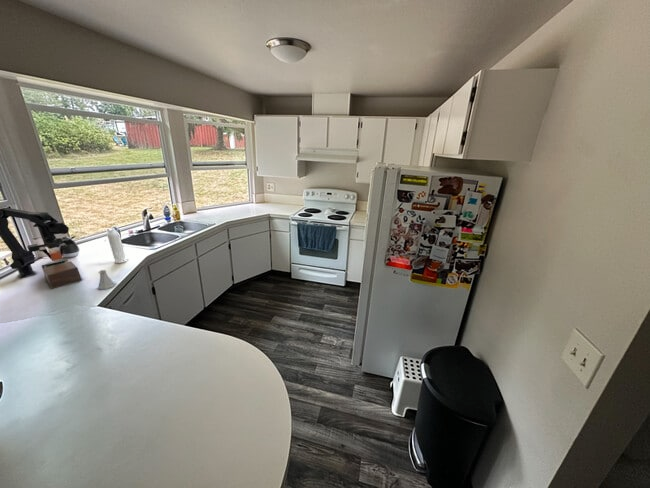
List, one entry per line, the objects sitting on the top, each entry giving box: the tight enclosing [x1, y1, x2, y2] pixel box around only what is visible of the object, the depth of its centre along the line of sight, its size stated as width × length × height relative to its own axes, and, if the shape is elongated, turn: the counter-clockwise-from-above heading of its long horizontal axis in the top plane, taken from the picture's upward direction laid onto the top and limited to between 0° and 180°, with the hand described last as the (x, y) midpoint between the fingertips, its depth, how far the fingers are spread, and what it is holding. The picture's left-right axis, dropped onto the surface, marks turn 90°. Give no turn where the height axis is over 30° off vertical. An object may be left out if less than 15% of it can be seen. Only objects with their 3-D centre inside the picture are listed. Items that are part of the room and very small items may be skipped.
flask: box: [97, 269, 116, 290], centre depth 144 cm, size 7×7×10 cm
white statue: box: [106, 227, 127, 264], centre depth 173 cm, size 9×6×25 cm
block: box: [48, 250, 64, 262], centre depth 154 cm, size 4×4×4 cm
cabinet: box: [41, 260, 83, 289], centre depth 150 cm, size 15×13×9 cm
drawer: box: [41, 259, 69, 269], centre depth 156 cm, size 18×11×7 cm, turn 54°
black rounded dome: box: [61, 235, 81, 258], centre depth 182 cm, size 10×10×15 cm
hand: (56, 257), depth 154 cm, fingers closed on block, 4 cm apart
